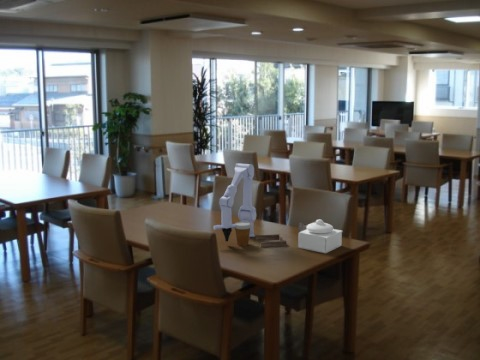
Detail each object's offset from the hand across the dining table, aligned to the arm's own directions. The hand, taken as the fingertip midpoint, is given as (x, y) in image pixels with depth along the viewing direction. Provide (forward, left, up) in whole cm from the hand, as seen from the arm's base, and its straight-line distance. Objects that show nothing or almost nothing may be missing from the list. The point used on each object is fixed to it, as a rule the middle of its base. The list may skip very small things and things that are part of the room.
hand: (226, 241), depth 309 cm
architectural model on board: (-7, +49, -3) cm, 50 cm away
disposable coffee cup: (0, +9, -3) cm, 9 cm away
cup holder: (0, +25, -2) cm, 25 cm away
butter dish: (+14, +50, -3) cm, 52 cm away
